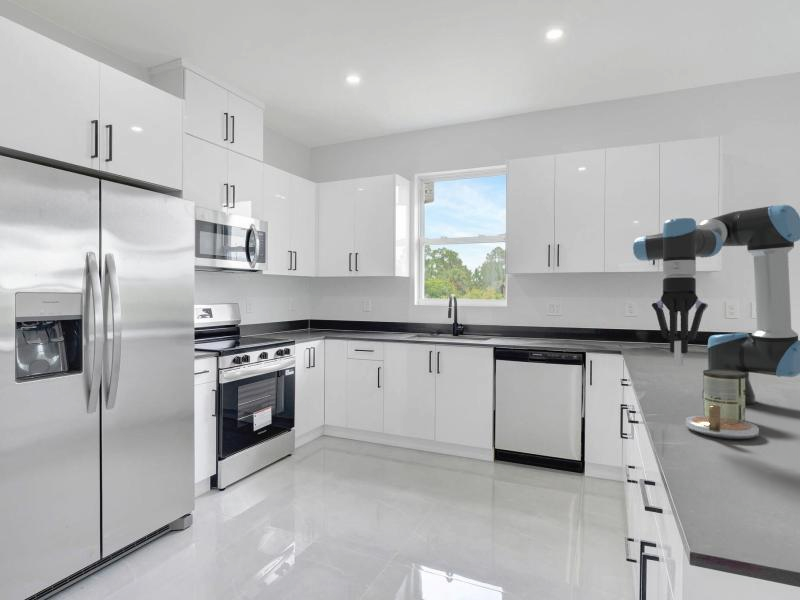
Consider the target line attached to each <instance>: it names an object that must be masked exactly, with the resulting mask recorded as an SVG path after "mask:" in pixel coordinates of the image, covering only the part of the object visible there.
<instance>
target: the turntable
mask: <svg viewBox="0 0 800 600" xmlns="http://www.w3.org/2000/svg"><path fill="white" fill-rule="evenodd" d="M685 427H686V428H687V429H690V430H691V431H695V432H696V431H697V432H696V433H698V432H701V433H704V434H709V435H714V436H720V437H729V438H747V439H752V438H756V437H758V436H760V428H759V427H758V425H756V424H755V423H752V422H749V421H747V420H745V421H742V420H738V419H733V418H726V417H720V406H717V405H709V416H704V415H691V416H687V417H686V418H685Z"/></svg>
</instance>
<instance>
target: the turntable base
mask: <svg viewBox="0 0 800 600" xmlns="http://www.w3.org/2000/svg"><path fill="white" fill-rule="evenodd" d="M700 433H701V432H699V433H698V434H700ZM703 434H704V433H701V435H703ZM706 435H708V436H707V437H710V436H711V437H712V438H715V437H716V438H715V439H723V440H731V441H733V440H734V441H735V440H736V441H737V440H746V439H747V440H748V438H729V437H720V436H714V435H709V434H705V435H704V436H706Z"/></svg>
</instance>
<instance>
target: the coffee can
mask: <svg viewBox="0 0 800 600" xmlns="http://www.w3.org/2000/svg"><path fill="white" fill-rule="evenodd" d="M702 373H703V378H702V379H703V388H704V398H703V416H709V405H717V406H720V417H726V418H733V419H738V420H742V421H746V404H745V376H746V374H745V373H743V372H739V371H732V370H719V369H709V370H708V369H704V370H703V371H702Z"/></svg>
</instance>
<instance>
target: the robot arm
mask: <svg viewBox="0 0 800 600" xmlns="http://www.w3.org/2000/svg"><path fill="white" fill-rule="evenodd" d="M662 227H663V228H662V230H663V231H662V233H658V234H651V235H643V236H639V237H638V238H636V239H635V240H634V241H633V245H632V249H633V255H634V257H635V258H636V259H637V260H639V261H649V262H650V261H657V260H662V276H664V278H663V279H662V295H661V297H660V299H659V300H658V301H656V302H653V303H652V304H651V307H652V308H653V310H654V311H655V314H656V317H657V321H658V325H659V329H660V333H661V336H662V338H664V339H667V340H669V352H670V353H672V354H673V353H674V354H673V355H674V358H673V361H674V363H673V364H674V365H673V366H675V367H682V366H684V354H688V352H689V351H688V350H689V349H688V347H689V345H688V344H689V341H691V340H695V339H696V338H697V336H698V332H699V328H700V325H701V321H702V317H703V315H704V314H703V313H704V312H705V310H706V309H707V308H708V306H709V305H708V303H706V302H705V303H704V302H703V301H701V300H700V299H699V297H698V295H697V291H696V288H697V286H696V285H697V279H696V277H694V276H696V275H697V262H696V260H697V259H696V258H699V257H700V258H711V257H714V256H715V255H717V254H719V253H720V251H721V250H722V248H723V247H743V246H744V247H745V246H746V248H747V250H746V251H747V252H748V254H751V255H752V256H753V270H754V271H753V272H754V288H755V289H754V291H755V292H754V293H755V311H756V313H755V314H756V330H753V332H752V333H751V336H750V335H749V333H747V332H743V333H742V332H741V333H739V332H738V333H727V334H726V333H724V334H714V335H710V336H709V338H708V340H707V341H708V342H707V348H706V349H707V370H709V369H719V370H732V371H739V372H743V373H745V374H746V376H745V405H754V404H756V394H755V392H754V389H753V386H752V384H751V382H750V373H752V374H761V375H767V376H776V377H779V378H781V377H782V378H783V377H785V378H794V377H797V376H799V375H800V339H799V334H798V333H797V332H796V331H795V330H793V329H792V316H791V315H792V313H791V312H792V311H791V310H792V309H791V291H790V290H791V289H790V272H789V271H790V269H789V268H790V267H789V266H790V265H789V253H790V252H791V251H793V249H794V248H795V244H794V243H795V242H796V243H797V242H798V241H800V215H799V213H798V211H797V210H796V209H795V208H794V207H793V206H791V205H789V204H788V205H787V204H781V205H778V204H777V205H769V206H764V207H757V208H750V209H743V210H737V211H732V212H728V213H725V214H722V215H719V216H716V217H713V218H708V219H705V220H703V221H702V222H700V224H697V223H696V220H695V219H694V218H692V217H681V218H680V217H679V218H678V217H677V218H672V219H667V220H666V221H664V223H663V226H662ZM694 305H695V309H696V310H695V313H694V315H693V321H692V323H691V327H690V331H689V312H690V310H692V308H693V307H694ZM664 306H665V308H666V309H667V310H668V315H669V327H668V324H667V320H666V315H665V312H664V310H663V309H664ZM678 314H680V339H679V337H678ZM678 339H679V340H678ZM701 393H702V394H701V395H702V396H701V398H702V399H704V387H703V388H702V391H701Z"/></svg>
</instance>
